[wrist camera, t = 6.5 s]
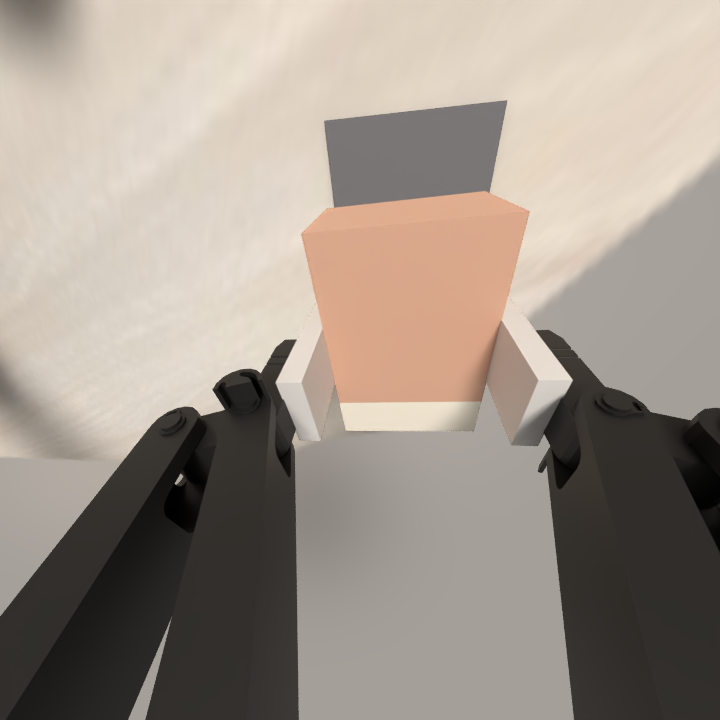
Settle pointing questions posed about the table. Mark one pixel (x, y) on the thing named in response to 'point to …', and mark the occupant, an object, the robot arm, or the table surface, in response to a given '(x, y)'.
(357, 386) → the flat block
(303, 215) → the table surface
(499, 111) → the mat
